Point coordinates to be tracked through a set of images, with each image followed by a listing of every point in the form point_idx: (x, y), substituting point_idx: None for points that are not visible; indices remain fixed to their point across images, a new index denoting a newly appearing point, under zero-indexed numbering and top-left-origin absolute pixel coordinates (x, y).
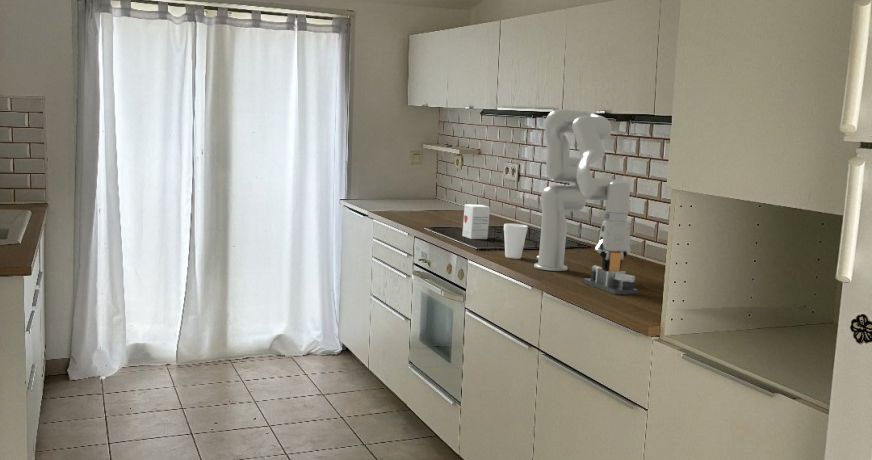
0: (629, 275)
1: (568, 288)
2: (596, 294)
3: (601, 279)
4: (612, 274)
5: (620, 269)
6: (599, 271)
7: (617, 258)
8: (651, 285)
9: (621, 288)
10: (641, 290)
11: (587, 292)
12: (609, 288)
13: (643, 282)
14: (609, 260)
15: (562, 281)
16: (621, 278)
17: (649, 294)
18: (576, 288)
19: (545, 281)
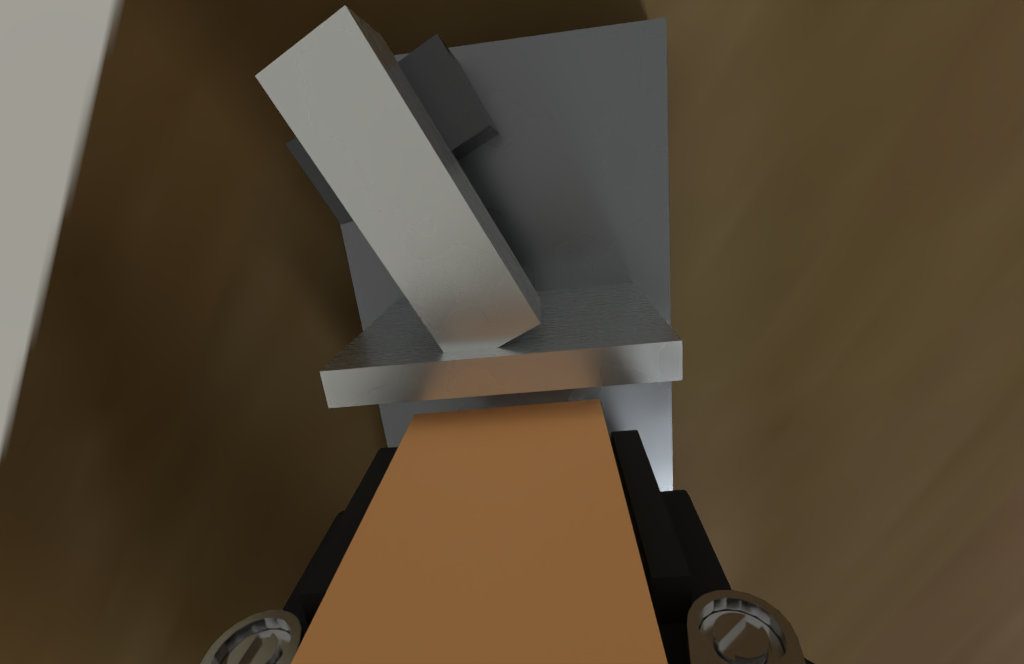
0: (348, 132)
1: (1019, 369)
2: (900, 37)
3: None
4: (578, 333)
5: (375, 458)
6: None
7: (420, 603)
8: (23, 521)
9: (502, 149)
10: (197, 302)
11: (939, 160)
12: (667, 158)
13: (66, 624)
14: (651, 567)
15: (835, 652)
16: (478, 203)
17: (173, 84)
18: (918, 372)
19: (1015, 651)
